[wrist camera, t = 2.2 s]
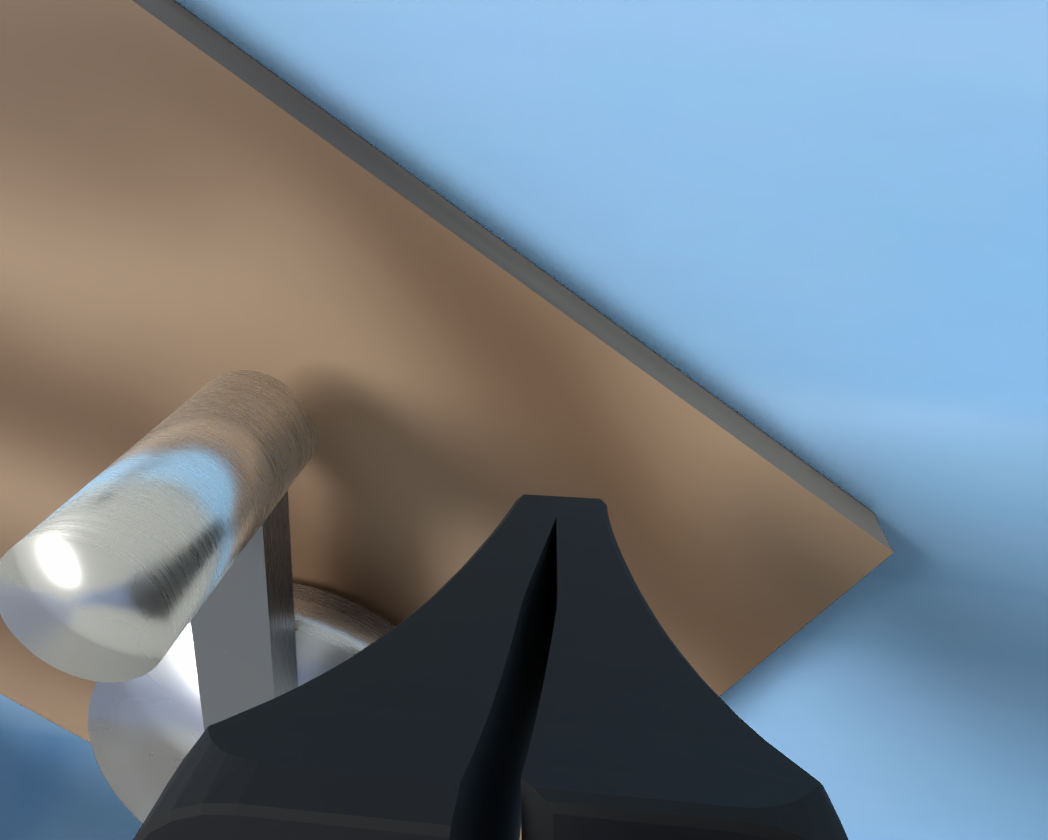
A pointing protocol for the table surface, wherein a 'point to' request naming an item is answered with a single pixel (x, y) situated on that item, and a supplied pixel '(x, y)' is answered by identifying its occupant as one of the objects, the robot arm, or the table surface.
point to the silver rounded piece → (182, 582)
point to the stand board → (351, 350)
